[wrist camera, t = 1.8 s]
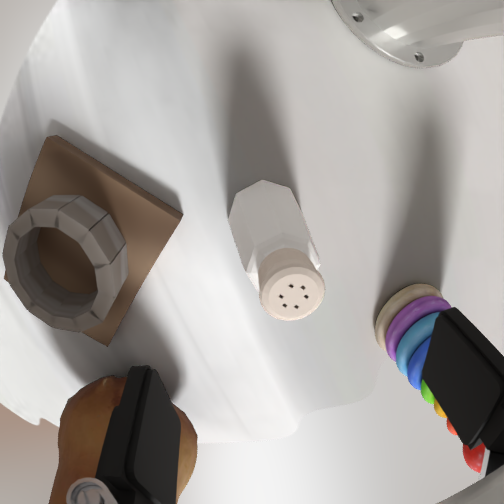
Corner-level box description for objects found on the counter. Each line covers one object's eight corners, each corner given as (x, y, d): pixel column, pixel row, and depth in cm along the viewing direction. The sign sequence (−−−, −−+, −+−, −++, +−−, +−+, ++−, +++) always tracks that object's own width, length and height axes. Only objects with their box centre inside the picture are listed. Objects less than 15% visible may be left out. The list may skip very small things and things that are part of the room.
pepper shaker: (268, 262, 24) (295, 362, 14) (212, 221, 23) (200, 307, 13) (316, 210, 23) (378, 284, 13) (260, 163, 21) (290, 206, 11)
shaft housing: (56, 135, 19) (19, 142, 14) (183, 214, 22) (171, 240, 18) (11, 271, 23) (-16, 298, 18) (112, 336, 26) (96, 373, 22)
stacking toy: (361, 347, 29) (436, 510, 12) (386, 278, 26) (510, 448, 9) (421, 343, 30) (504, 474, 13) (448, 280, 27) (565, 409, 10)
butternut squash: (217, 420, 32) (223, 622, 9) (123, 432, 33) (96, 599, 10) (161, 336, 27) (117, 626, 4) (58, 358, 27) (-19, 558, 5)
